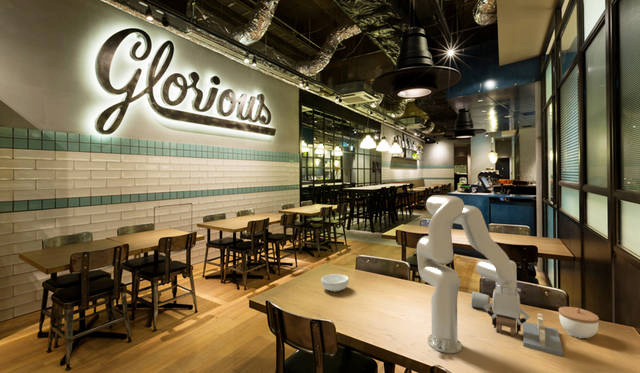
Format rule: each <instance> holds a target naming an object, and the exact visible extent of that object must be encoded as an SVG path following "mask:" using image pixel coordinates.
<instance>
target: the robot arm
mask: <svg viewBox="0 0 640 373" xmlns="http://www.w3.org/2000/svg"><path fill="white" fill-rule="evenodd" d="M425 207H426V209H427V211H428V213H430V214H431V215H432V217H431V218H430V221H429V222H428V225H427V226H428V228H427V230H428V231H427V232H428V235H425V236H422V237H420V239H418V242H417V244H416V257H417V258H416V259H417V268H418V269H417V270H418V274H419V276H420V278H421V279H422V281H424V282H425V283H427V284H429V285H431V286H432V287H434V290H433V292H432V296H431V301H430V303H431V334H430V335H429V336H428V337H427V343H428V345H429V346H430V347H431V348H432V349H433V350H435V351H438V352H440V353H441V352H442V353H443V354H444V353H445V354H457V353H459V352H461V351H462V349H463V345H462V342H461V341H460V340H459V339H458V295H459V290H460V284H461V279H460V276H459V274H458V272H456V271H455V269H453V268H451V267H449V266H446V265H447V264H450V263H452V261H453V259H454V258H453V257H454V248H453V247H454V246H453V237H452V228H453V224H457V225H461V227H462V229H463V231H464V233H465V236H466V239H467V242H468V244H469V245H470V246H471V247H472V248H473V249H475V251H477V252H479V253H481V254H482V255H483V256H484V257H486V258H487V259H481V260H480V261H478V262H477V263H476V264H475V270H476V272H477V274H478V275H479V276H481V277H483V278H485V279H488V280H490V281H493V282H495V288H494V289H493V293H492V302H490V304H488V305H485V306H484V309H483V310H485V311H486V313H487V314H488V315H489V316H490V317H491V325H492V326H493V328H494V329H496V316H497V314H498V315H503V316H507V317H512V318H515V319H516V335H519V334H520V333H519V332H521V331H522V329H521V328H522V325H523V323H524V322H527V320H529V319H530V317H531V315H530V314H528V312H526V311H525V310H524V309H522V308H521V300H520V299H521V297H520V294H519V292H520V293H521V291H522V290H521V288H519V287H518V284H517V282H518V281H517V280H518V279H517V264H516V262H515V261H514V260H510V257H509V256H508V254H507V253H506V252H505V251H504V250H503V249H502V248H501V247H500V246H499V244H498V243H497V242H495V240H494V239H492V237H491V235H490V232H489V230H488V227H487V224H486V222H485V219H484V216H483V214H482V211H481V210H480V209H479V207H476V206H474V205H466V204H465V203H464V201H463V199H462V198H460V197H458V196H455V195H442V194H441V195H440V194H435V195H431V196H429V197H428V198H427V199H426V202H425ZM490 308H491V309H492V310H490ZM521 315H523V317H521Z"/></svg>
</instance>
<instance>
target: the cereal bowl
mask: <svg viewBox="0 0 640 373" xmlns="http://www.w3.org/2000/svg"><path fill="white" fill-rule="evenodd" d="M320 282H321V286H322V287H323V289H325V290H326V291H329V290H330V291H329V292H331V291H334V292H333V293H336V292H335V291H339V292H341V291H342V290H344V289H346V288H347V286H348V285H349V277H348V276H347V275H344V274H341V273H332V274H331V273H330V274H326V275H323V276H322V277H321V280H320ZM340 290H341V291H340Z"/></svg>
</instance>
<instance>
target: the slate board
mask: <svg viewBox="0 0 640 373" xmlns="http://www.w3.org/2000/svg"><path fill="white" fill-rule="evenodd" d="M543 326H544V325H543ZM544 329H545V347H544V346H540V342H539V334H538V325H537V324H536V323H531V322H527V321H526V322H524V323H522V337H523V338H522V339H523V342H522V343H523V347H524V348H530V349H533V350H537V351H541V352H545V353H548V354H552V355H556V356H559V357H564V351H563V347H562V341H561V338H560V334H559V330H558V328H554V327H551V326H550V327H549V326H544Z"/></svg>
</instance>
